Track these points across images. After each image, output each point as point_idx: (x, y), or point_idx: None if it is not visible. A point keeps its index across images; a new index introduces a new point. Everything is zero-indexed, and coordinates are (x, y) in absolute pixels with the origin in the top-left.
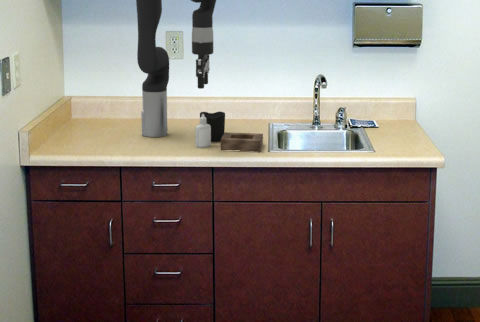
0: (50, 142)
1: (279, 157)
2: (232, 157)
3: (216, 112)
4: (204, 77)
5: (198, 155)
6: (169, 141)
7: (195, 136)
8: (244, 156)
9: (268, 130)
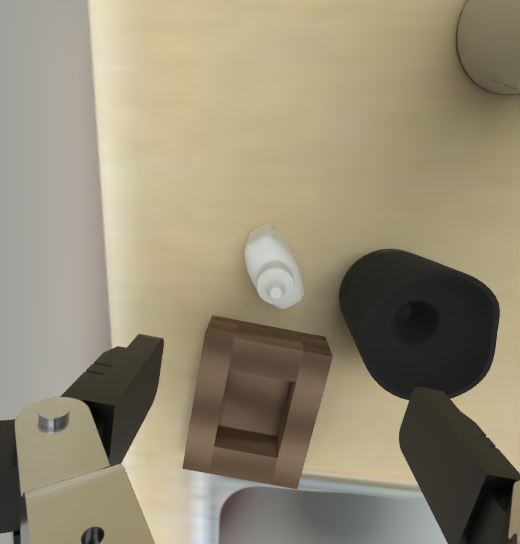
0: None
1: None
2: None
3: (485, 359)
4: (442, 468)
5: (140, 232)
6: (373, 108)
7: (265, 229)
8: None
9: None
